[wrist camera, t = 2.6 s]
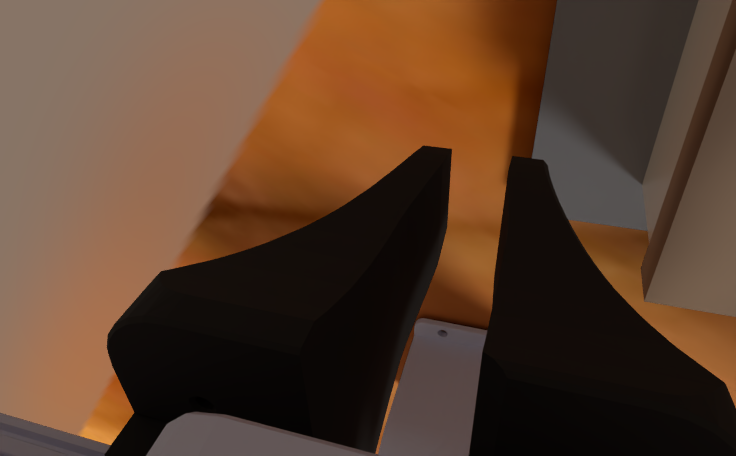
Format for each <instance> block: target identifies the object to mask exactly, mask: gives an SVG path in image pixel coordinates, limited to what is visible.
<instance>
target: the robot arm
mask: <svg viewBox="0 0 736 456" xmlns="http://www.w3.org/2000/svg"><path fill="white" fill-rule="evenodd" d="M451 154H452V149H448V148H439V147H431V146H422V147H421V148H420V149H418V150H417V151H416V152H415V153H413V154H412V155H411V156H410V157H408V158H407V159H406V160H405V161H404V162H402V163H401V164H400V165H399V166H397V167H396V168H395V169H394V170H392V171H391V172H390V173H389V174H387V175H386V176H385V177H384V178H382V179H381V180H380V181H378V182H377V183H376V184H374V185H373V186H372V187H370V188H369V189H368V190H366V191H365V192H363V193H362V194H360V195H359V196H357V197H356V198H354V199H353V200H351V201H350V202H348V203H347V204H345V205H344V206H342V207H340V208H339V209H337V210H335V211H334V212H332V213H330V214H328V215H327V216H325V217H323V218H321V219H319V220H317V221H315V222H313V223H311V224H309V225H307V226H305V227H303V228H301V229H299V230H296V231H294V232H291V233H289V234H287V235H284V236H282V237H280V238H277V239H275V240H272V241H270V242H268V243H265V244H262V245H259V246H256V247H253V248H251V249H248V250H245V251H241V252H238V253H235V254H232V255H228V256H225V257H221V258H218V259H214V260H210V261H206V262H201V263H197V264H193V265H188V266H184V267H179V268H175V269H170V270H165V271H161V272H160V273H159V274H158V275H157V276H156V277H155V279H154V280H153V281H152V282H151V283H150V284H149V285H148V286H147V287H146V289H145V290H144V291H143V292H142V293H141V294H140V295H139V297H138V298H137V299H136V300H135V301H134V302H133V303H132V305H131V306H130V307H129V308H128V309H127V310H126V311H125V313H124V314H123V315H122V316H121V317H120V318H119V320H118V321H117V322H116V323H115V324H114V326H113V327H112V329H111V330H110V332H109V334H108V339H107V350H108V354H109V357H110V360H111V363H112V366H113V368H114V370H115V373H116V375H117V377H118V379H119V381H120V383H121V385H122V387H123V389H124V391H125V394H126V396H127V398H128V400H129V402H130V404H131V406H132V408H133V410H134V412H135V413H134V414H133V415H132V417H131V418H130V420H129V421H128V422H127V424H126V425H125V427H124V428H123V429H122V431H121V432H120V434H119V435H118V436H117V438H116V439H115V440H114V442H113V443H112V445H107V444H104V443H101V442H97V441H94V440H91V439H87V438H84V437H80V436H77V435H73V434H70V433H67V432H63V431H60V430H56V429H53V428H50V427H47V426H43V425H40V424H36V423H33V422H30V421H26V420H23V419H19V418H16V417H12V416H9V415H6V414H2V413H0V456H736V408H735V406H734V403H733V401H732V398H731V396H730V393H729V391H728V389H727V386H726V384H725V383H724V382H723V381H721V380H720V379H719V378H717V377H716V376H715V375H713V374H712V373H711V372H709V371H708V370H707V369H705V368H704V367H702V366H701V365H700V364H698V363H697V362H696V361H694V360H693V359H692V358H690V357H689V356H688V355H686V354H685V353H683V352H682V351H681V350H679V349H678V348H677V347H676V346H674V345H673V344H672V343H671V342H669V341H668V340H667V339H666V338H665V337H664V336H663V335H661V334H660V333H659V332H658V331H657V330H656V329H654V328H653V327H652V326H651V325H650V324H649V323H648V322H647V321H645V320H644V319H643V318H642V317H641V316H640V315H639V314H638V313H637V312H636V311H635V310H634V309H633V308H632V307H631V306H630V305H629V304H628V303H627V302H626V301H625V299H624V298H623V297H622V296H621V295H620V294H619V293H618V292H617V291H616V290H615V289H614V288H613V286H612V285H611V284H610V283H609V282H608V280H607V279H606V278H605V277H604V275H603V274H602V273H601V271H600V270H599V269H598V267H597V266H596V265H595V263H594V262H593V261H592V259H591V258H590V256H589V255H588V253H587V252H586V250H585V249H584V247H583V245H582V244H581V242H580V240H579V239H578V237H577V235H576V234H575V232H574V230H573V228H572V226H571V225H570V223H569V221H568V219H567V217H566V215H565V213H564V210H563V208H562V206H561V204H560V202H559V200H558V197H557V195H556V192H555V189H554V187H553V184H552V181H551V178H550V174H549V169H548V165H547V164H546V162H545V161H544V160H540V159H532V158H524V157H515V156H512V159H511V163H510V167H509V171H508V178H507V186H506V193H505V200H504V208H503V215H502V223H501V230H500V238H499V245H498V253H497V260H496V268H495V276H494V290H493V305H492V313H491V317H490V321H489V326H488V330H483V329H477V328H472V327H467V326H462V325H457V324H452V323H447V322H442V321H437V320H432V319H426V318H420V319H418V320H417V321H416V323H415V327H414V337H413V341H412V344H411V347H410V350H409V353H408V356H407V359H406V363H405V366H404V369H403V372H402V375H401V378H400V381H399V385H398V388H397V391H396V394H395V397H394V400H393V403H392V407H391V410H390V413H389V416H388V419H387V422H386V426H385V429H384V433H383V437H382V441H381V445H380V449H379V454H378V455H377V454H375V452H376V448H377V444H378V440H379V436H380V433H381V429H382V425H383V421H384V418H385V414H386V410H387V406H388V402H389V399H390V395H391V392H392V388H393V384H394V381H395V377H396V374H397V370H398V366H399V363H400V359H401V357H402V354H403V351H404V348H405V345H406V342H407V340H408V337H409V335H410V332H411V330H412V327H413V325H414V322H415V320H416V317H417V315H418V313H419V310H420V308H421V305H422V303H423V300H424V298H425V295H426V293H427V290H428V288H429V285H430V283H431V280H432V278H433V275H434V272H435V270H436V267H437V265H438V261H439V257H440V253H441V249H442V245H443V241H444V237H445V233H446V229H447V219H448V203H449V187H450V171H451ZM441 330H444V331H446V332H444V331H441Z"/></svg>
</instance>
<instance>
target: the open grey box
mask: <svg viewBox="0 0 736 456" xmlns="http://www.w3.org/2000/svg"><path fill="white" fill-rule="evenodd" d="M731 2H732V0H699V1H698V4H697V7H696V11H695V14H694V17H693V20H692V24H691V27H690V30H689V33H688V37H687V40H686V43H685V46H684V50H683V53H682V56H681V59H680V63H679V66H678V69H677V73H676V76H675V79H674V82H673V86H672V89H671V92H670V95H669V99H668V102H667V105H666V108H665V112H664V115H663V118H662V121H661V125H660V128H659V131H658V135H657V138H656V141H655V144H654V148H653V151H652V154H651V157H650V161H649V164H648V167H647V170H646V174H645V177H644V180H643V183H642V188H643V197H644V205H645V213H646V221H647V229H648V237H649V243H650V240H651V237H652V234H653V231H654V228H655V225H656V222H657V219H658V216H659V213H660V211H661V208H662V205H663V202H664V199H665V196H666V193H667V190H668V187H669V184H670V181H671V178H672V175H673V172H674V169H675V167H676V164H677V161H678V158H679V155H680V152H681V149H682V146H683V143H684V140H685V137H686V134H687V131H688V128H689V126H690V123H691V120H692V117H693V114H694V111H695V108H696V105H697V102H698V99H699V96H700V93H701V90H702V87H703V84H704V82H705V79H706V76H707V73H708V70H709V67H710V64H711V61H712V58H713V55H714V52H715V49H716V46H717V43H718V40H719V38H720V35H721V32H722V29H723V26H724V23H725V20H726V17H727V14H728V11H729V8H730V5H731Z"/></svg>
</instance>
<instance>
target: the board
mask: <svg viewBox="0 0 736 456" xmlns="http://www.w3.org/2000/svg"><path fill="white" fill-rule="evenodd" d="M698 1H699V0H557V5H556V11H555V17H554V23H553V30H552V36H551V42H550V48H549V55H548V61H547V67H546V73H545V79H544V86H543V92H542V98H541V104H540V111H539V117H538V123H537V129H536V135H535V142H534V148H533V154H532V159H540V160H544V161H545V162H546V164H547V165H548V169H549V174H550V178H551V181H552V184H553V187H554V189H555V192H556V195H557V197H558V200H559V202H560V204H561V206H562V208H563V210H564V213H565V215H566V217H567V219H568V220H575V221H582V222H589V223H596V224H603V225H610V226H617V227H624V228H631V229H638V230H645V231H648V229H647V221H646V213H645V205H644V197H643V188H642V183H643V180H644V177H645V174H646V170H647V167H648V164H649V161H650V157H651V154H652V151H653V148H654V144H655V141H656V138H657V135H658V131H659V128H660V125H661V121H662V118H663V115H664V112H665V108H666V105H667V102H668V99H669V95H670V92H671V89H672V86H673V82H674V79H675V76H676V73H677V69H678V66H679V63H680V59H681V56H682V53H683V50H684V46H685V43H686V40H687V37H688V33H689V30H690V27H691V24H692V20H693V17H694V14H695V11H696V7H697V4H698Z"/></svg>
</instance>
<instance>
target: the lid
mask: <svg viewBox="0 0 736 456" xmlns="http://www.w3.org/2000/svg"><path fill="white" fill-rule="evenodd" d="M641 274H642V284H643V294H644V301H645V302H651V303H657V304H663V305H669V306H675V307H680V308H686V309H692V310H698V311H704V312H709V313H715V314H721V315H727V316H733V317H736V0H732V2H731V5H730V8H729V11H728V14H727V17H726V20H725V23H724V26H723V29H722V32H721V35H720V38H719V40H718V43H717V46H716V49H715V52H714V55H713V58H712V61H711V64H710V67H709V70H708V73H707V76H706V79H705V82H704V84H703V87H702V90H701V93H700V96H699V99H698V102H697V105H696V108H695V111H694V114H693V117H692V120H691V123H690V126H689V128H688V131H687V134H686V137H685V140H684V143H683V146H682V149H681V152H680V155H679V158H678V161H677V164H676V167H675V169H674V172H673V175H672V178H671V181H670V184H669V187H668V190H667V193H666V196H665V199H664V202H663V205H662V208H661V211H660V213H659V216H658V219H657V222H656V225H655V228H654V231H653V234H652V237H651V240H650V243H649V246H648V249H647V252H646V255H645V257H644V260H643V263H642V266H641Z"/></svg>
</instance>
